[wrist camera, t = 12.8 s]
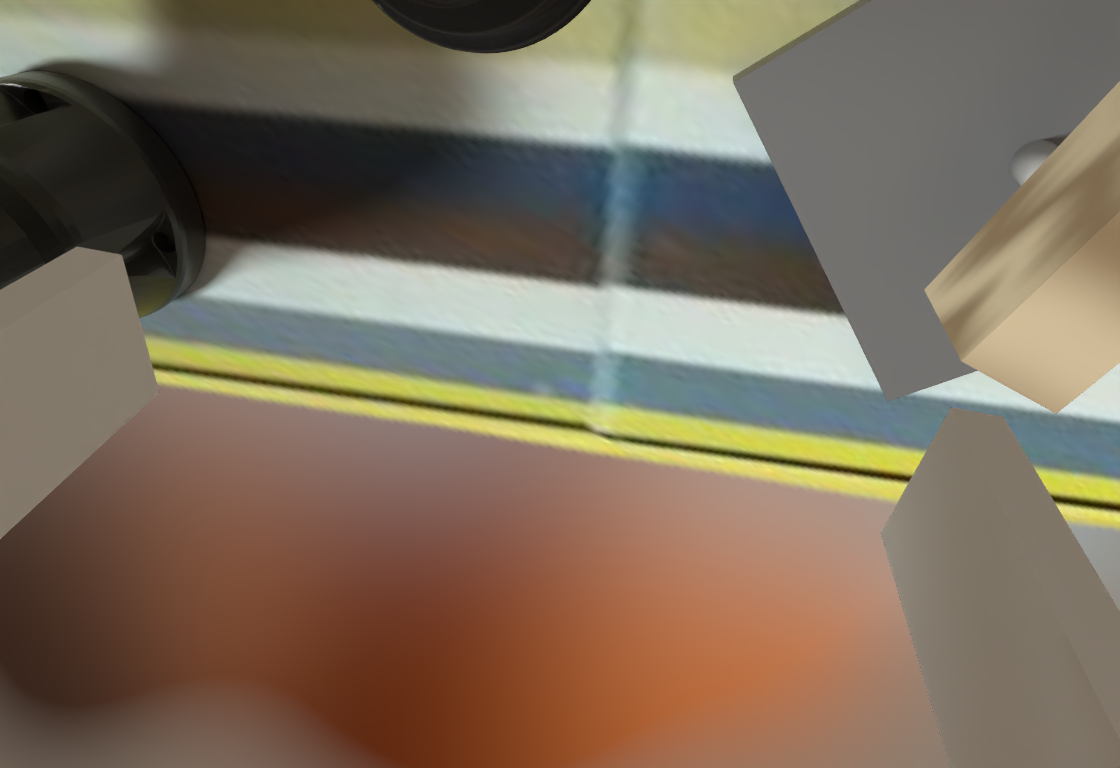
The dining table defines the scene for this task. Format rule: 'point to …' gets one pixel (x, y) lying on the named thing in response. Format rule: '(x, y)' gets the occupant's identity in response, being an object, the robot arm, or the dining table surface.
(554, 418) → the dining table surface
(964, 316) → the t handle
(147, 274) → the robot arm
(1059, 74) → the lock base
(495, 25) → the coffee cup
